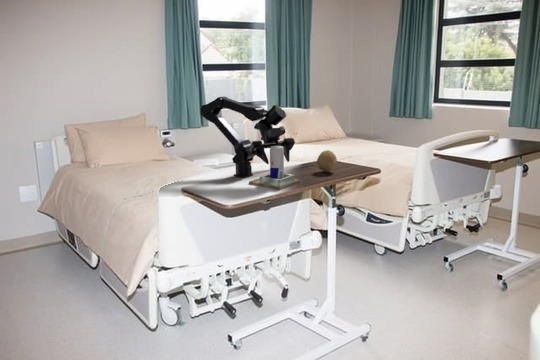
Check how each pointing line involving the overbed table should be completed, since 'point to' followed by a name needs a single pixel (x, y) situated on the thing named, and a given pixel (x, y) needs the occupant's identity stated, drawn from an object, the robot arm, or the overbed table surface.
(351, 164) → the overbed table surface
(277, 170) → the beverage can
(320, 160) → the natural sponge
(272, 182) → the socket dock
